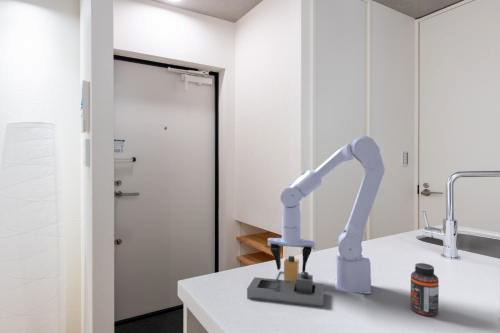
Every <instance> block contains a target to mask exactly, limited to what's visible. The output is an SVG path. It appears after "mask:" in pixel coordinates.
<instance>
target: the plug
mask: <svg viewBox="0 0 500 333" xmlns="http://www.w3.org/2000/svg"><path fill="white" fill-rule="evenodd" d="M299 264H300V259H299V258H295V256H294V255H288V258H287V257H286V258H285V259H284V262H283V271H284V280H288V281H296V279H297V276H298V274H299V272H300V271H299V270H300V268H299V267H300V265H299Z"/></svg>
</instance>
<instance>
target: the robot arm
mask: <svg viewBox="0 0 500 333" xmlns="http://www.w3.org/2000/svg"><path fill="white" fill-rule="evenodd" d="M382 158H383V157H382V154H381V150H380V146H379V145H378V144H377V142H375V140H374V139H373V138H372V137H370V136H367V135H360V136H358V137H356V138H355V139H354V140H352V142H349V143H347V144H346V145H344V146H342V147H341V148H339V149H338V150H337V151H335V152H334V153H333V154H332V155H331V156H329V157H328V158H327V159H326V160H325V161H324V162H323V163H322V164H320V165H319V166H318V167H317V168H316V169H314V170H312V169H308V170H307V171H305V170H304V171H301V173H300V174H301V176H299V177H298V178H297V179H296V180H295V181H291V182H290V183H289V186H288V187H285V188H284V189H283V190H282V192H281V194H280V202H281V203H282V205H281V208H282V210H281V237H269V238H267V246H270V252H271V254H272V255H273V258H274V260H275V264H276V269H277V271H278V270H280V271H281V267H282V266H281V265H282V261H281V248H282V247H290V248H293V247H294V248H302V250H301V251H302V268H301V270H302V271H301V272H306V268H307V267H306V266H307V262H308V259H309V258H310V255H311V253H312V250H315V249H316V240H308V239H303V238H301V235H302V234H301V233H302V230H301V224H302V223H301V219H302V216H301V215H302V214H301V210H300V209H301V204H300V202H301V200H302V198H307V197H308V196H309V195H310V194H312V192H314V191H315V190H316V189H318V188H319V187H320V186H321V185H322V179H323V178H324V177H325V176H326V175H327V174H329V173H330V172H331V171H334V169H335V168H336V167H338V166H339V165H340V164H343V162H348V161H351V160H354V159H356V160H357V161H358V162H359V163H360V165H361V167H362V168H363V170H364V175H363V178H362V181H361V183H360V187H359V190H358V191H357V195H356V198H355V201H354V204H353V206H352V210H351V213H350V215H349V218H348V220H347V223H346V224H345V226H344V230H343V231H341V233H340V234H339V235H338V238H337V243H338V252H337V253H336V278H335V280H334V281H335V282H334V283H335V285H334V286H335V287H334V288H335V290H336V291H341V292H351V293H361V294H365V295H371V294H372V291H371V290H372V286H371V285H372V278H371V277H372V276H371V274H372V272H371V271H372V269H371V260H370V258H369V257H363V254H362V252H363V246H362V242H363V238H364V231H365V228H366V224H367V223H368V219H369V216H370V214H371V210H372V208H373V205H374V202H375V199H376V197H377V194H378V192H379V188H380V185H381V183H382V180H383V176H384V174H385V171H386V170H385V165H384V162H383V159H382Z"/></svg>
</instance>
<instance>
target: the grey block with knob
mask: <svg viewBox="0 0 500 333" xmlns="http://www.w3.org/2000/svg"><path fill="white" fill-rule="evenodd" d="M300 272H301V274H298V276H297V279H296V292H303V293H312V294H313V283H314V282H313V281H314V278H313V277H314V276H313V275H312V274H310V275H308V273H309V272H307V271H305V272H302V271H300Z"/></svg>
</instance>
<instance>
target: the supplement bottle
mask: <svg viewBox="0 0 500 333" xmlns="http://www.w3.org/2000/svg"><path fill="white" fill-rule="evenodd" d="M414 267H415V268H414V271H412V272H411V274H410V308H411V310H412V311H414V312H415V313H417V314H418V315H422V316H426V317H433V316H437V315H438V314H439V293H440V292H439V290H440V289H439V286H440V285H439V283H440V282H439V277H438V276H437V275H436V274H435V267H434V265H432V264H428V263H425V262H423V263H422V262H418V263H416V264H415V266H414Z"/></svg>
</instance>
